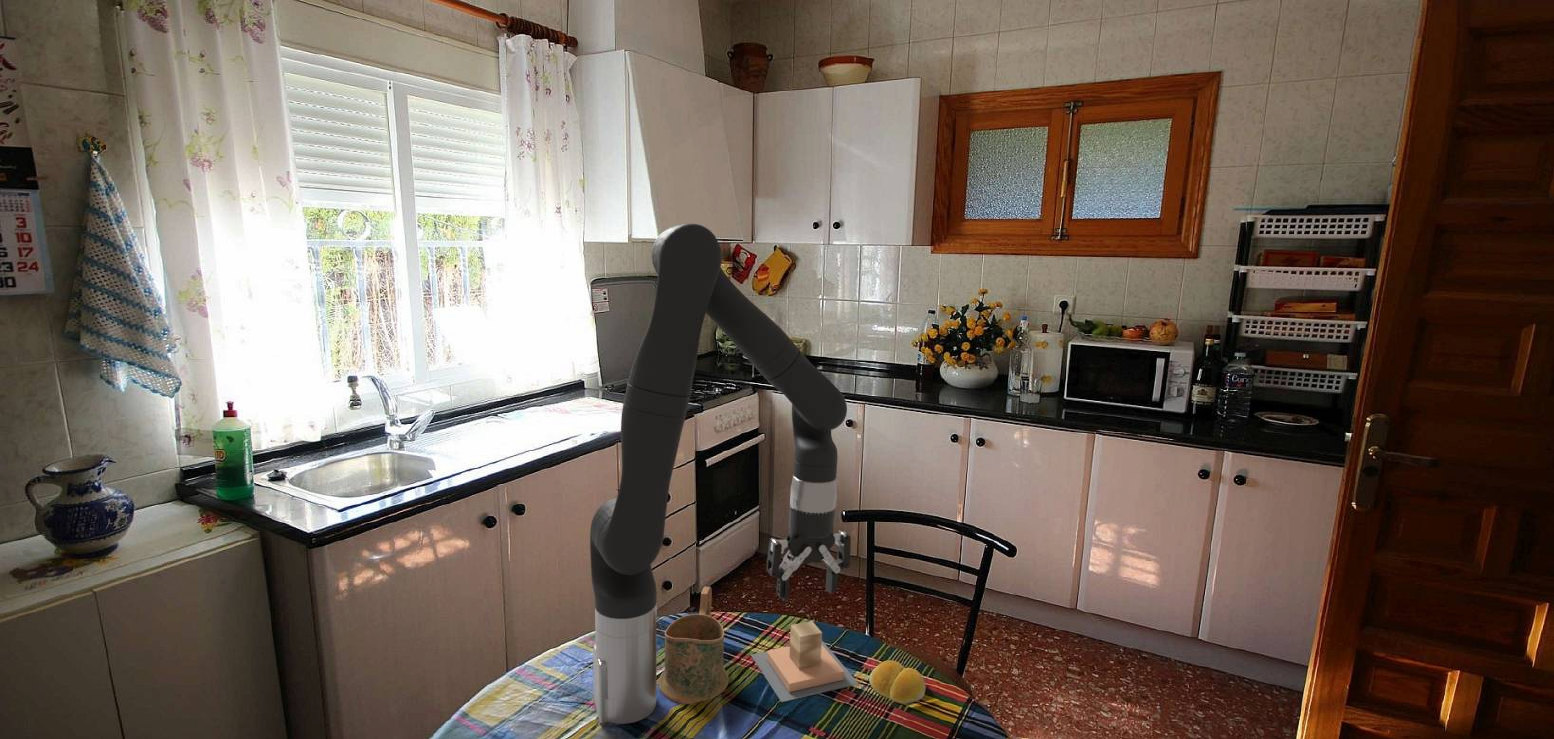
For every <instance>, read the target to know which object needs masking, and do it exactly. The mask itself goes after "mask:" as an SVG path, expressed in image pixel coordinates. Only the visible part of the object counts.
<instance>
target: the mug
mask: <svg viewBox="0 0 1554 739" xmlns="http://www.w3.org/2000/svg"><path fill="white" fill-rule="evenodd" d="M712 592H713V590H712V587H711V586H703V589H702V590H701V593H700V604H699V605H700V606H699V613H691V614H687V615H684V616H681V617H679V618H677V619H675V620H674V621H673V622H671V623H670V624H669V625H668V627H667V628H666V630H665V631H664V670H663V671H662V673H661V674H660V676H659V678H658V687H659V688H658V689H659V691H660V693H661V694H662V695H663V696H664V697H665V698H666V699H668V700H671V701H673V702H674V703H679V704H683V705H696V704H695V703H698V702H704V701H708V700H710V699H713V698H716V697H717V696H720V694H722V692H724V691H725V690H726V688H727V687H728V684H729V680H730V679H729V678H730V677H729V674H728V672H727V670H726V669H724V648H725V647H724V646H725V644H724V643H725V642H724V641H725V640H724V638H725V630H724V627H723V625H722V624H721V622H720V621H719V620H718V619H716V618H715V617H713V616H711V614H712V597H713V596H712V595H713V594H712Z"/></svg>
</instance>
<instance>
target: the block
mask: <svg viewBox="0 0 1554 739" xmlns="http://www.w3.org/2000/svg"><path fill="white" fill-rule="evenodd" d="M789 636H790V639H789V646H790V658H791V660H792V661H793V663H794V664H795V665H796V667H797V668H798V669H799V670H802V669H806V668H811V667H815V666H820V665H821V646H822V641H823V632H822V631H821V630H820V628H819V627H818V626H817V625H816V624H815V623H814V621H812V620H811V621H805V622H799V623H794V624H791V625H790V635H789Z"/></svg>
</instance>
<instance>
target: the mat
mask: <svg viewBox="0 0 1554 739" xmlns="http://www.w3.org/2000/svg"><path fill="white" fill-rule="evenodd" d="M822 645H823V647H824V648H825V649H826V650H827V651H828V653H829V654H830V655H831V656H832V657H833V659H834V660H835V661H836V662H837V663H838V665H839V666H840V667H841V668H842V669H843V670H844V680H840V681H836V682H831V683H827V684H823V685H818V686H814V687H810V688H805V689H801V690H797V691H792V692H789V691H788V690H787V688H786V687H785V685H784V684H783V682H782V681H781V680H780V678H779V677H778V675H777V674H776V672H775V671H774V669H773V668H772V666H771V665H770V663H769V662H768V660H767V659H766V654H767V651H768V650H766V651H763V652H757V653H753V654H750V656H751V657H752V659H753V661H754V662H755V664H756V666H758V668H759V670H760V672H761V673H762V675H763V676H764V677H765V680H767V682H768V683H769V685H770V687H771V689H772V690H773V691H774V693H775V694H776V697H778V699H779V701H780V702H781V703H784V702H789V701H792V700H796V699H800V698H805V697H810V696H813V695H814V696H815V695H819V694H822V693H827V692H831V691H834V690H835V691H836V690H840V689H843V688H848V687H852V686H856V685H859V682H858V681H857V680H856V679H855V677H854V676H853V675H852V674H851V673H850V671H849V670H848V669H847V667H846V666H844V664H843V663H842V662H841V661H840V660H839V659H838V657H837V656H836V655H835V654H834V652H833V651H832V650H831V649H830V648H829V646H828V645H827V644H826V643H825V642H824V641H823V640H822Z"/></svg>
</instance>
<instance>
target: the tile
mask: <svg viewBox="0 0 1554 739" xmlns="http://www.w3.org/2000/svg"><path fill="white" fill-rule="evenodd" d="M766 651H767V654H766V659H767V660H768V662H769V663H770V665H771V666H772V668H773V669H774V671H775V672H776V674H777V675H778V677H779V678H780V680H781V681H782V682H783V684H784V685H785V687H786V688H787V690H788V691H789V692H792V691H797V690H801V689H805V688H810V687H814V686H818V685H823V684H827V683H831V682H836V681H840V680H844V670H843V669H842V668H841V667H840V666H839V665H838V663H837V662H836V661H835V660H834V659H833V657H832V656H831V655H830V654H829V653H828V651H827V650H826V649H825V648H824V647H823V645H822V646H821V665H820V666H815V667H811V668H806V669H802V670H799V669H798V668H797V667H796V665H795V664H794V663H793V661H792V660H791V658H790V645H789V646H784V647H779V648H774V649H770V650H766Z"/></svg>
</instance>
